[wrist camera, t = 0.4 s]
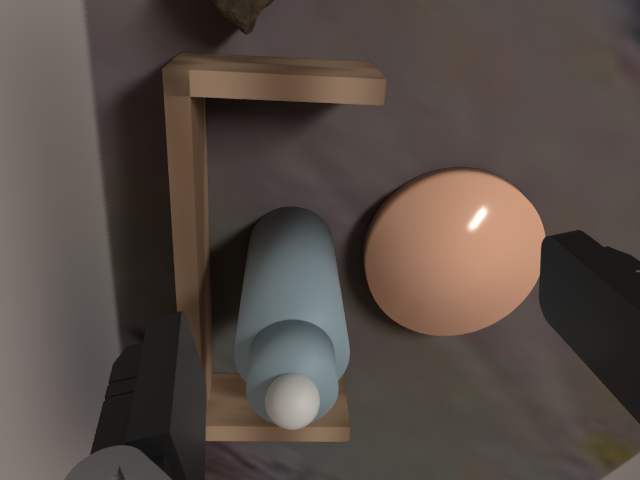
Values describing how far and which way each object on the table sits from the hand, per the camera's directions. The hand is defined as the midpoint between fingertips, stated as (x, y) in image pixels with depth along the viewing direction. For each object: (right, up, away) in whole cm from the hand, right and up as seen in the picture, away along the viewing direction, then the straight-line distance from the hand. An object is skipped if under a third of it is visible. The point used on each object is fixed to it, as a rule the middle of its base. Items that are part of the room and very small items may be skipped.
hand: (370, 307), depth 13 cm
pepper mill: (-3, +1, +23) cm, 23 cm away
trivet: (+7, +1, +24) cm, 25 cm away
